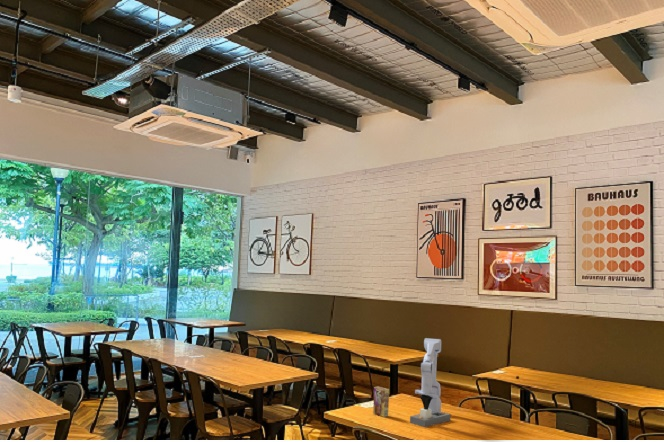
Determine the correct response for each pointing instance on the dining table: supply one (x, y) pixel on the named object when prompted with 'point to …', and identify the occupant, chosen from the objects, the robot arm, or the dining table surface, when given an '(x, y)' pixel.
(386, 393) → the candy box
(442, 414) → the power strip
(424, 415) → the plug
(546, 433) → the dining table surface
